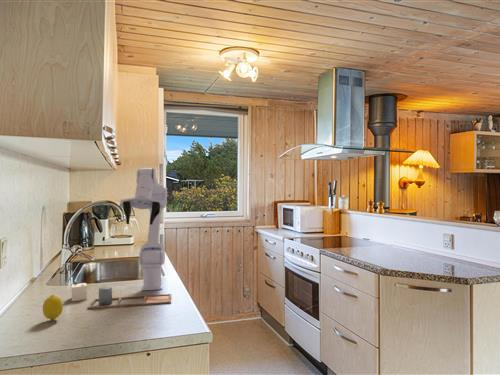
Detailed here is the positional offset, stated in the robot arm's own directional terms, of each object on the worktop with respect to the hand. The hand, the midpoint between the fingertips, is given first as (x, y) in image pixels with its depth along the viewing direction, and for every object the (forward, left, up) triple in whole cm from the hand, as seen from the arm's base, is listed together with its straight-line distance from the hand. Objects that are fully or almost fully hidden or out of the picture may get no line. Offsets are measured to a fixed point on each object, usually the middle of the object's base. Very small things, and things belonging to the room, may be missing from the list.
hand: (139, 222), depth 124 cm
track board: (-10, -4, -29) cm, 31 cm away
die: (-19, -24, -30) cm, 43 cm away
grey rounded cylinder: (-10, -13, -30) cm, 34 cm away
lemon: (+4, -26, -30) cm, 40 cm away
